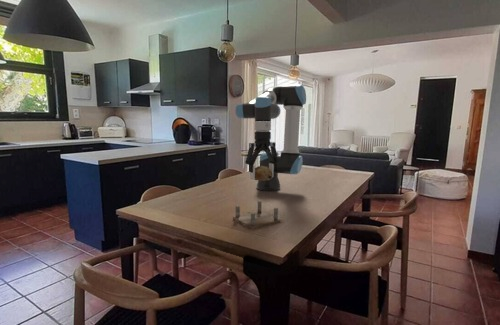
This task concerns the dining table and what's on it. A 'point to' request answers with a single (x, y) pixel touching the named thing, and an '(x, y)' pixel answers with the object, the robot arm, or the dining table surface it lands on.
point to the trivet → (256, 218)
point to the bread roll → (263, 173)
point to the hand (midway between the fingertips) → (261, 178)
